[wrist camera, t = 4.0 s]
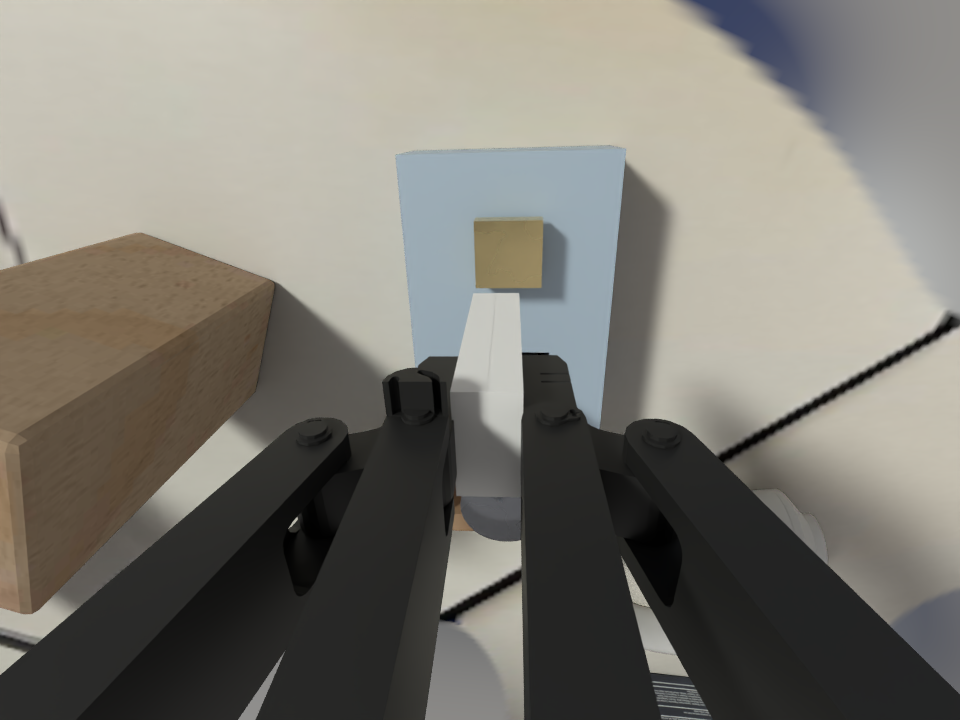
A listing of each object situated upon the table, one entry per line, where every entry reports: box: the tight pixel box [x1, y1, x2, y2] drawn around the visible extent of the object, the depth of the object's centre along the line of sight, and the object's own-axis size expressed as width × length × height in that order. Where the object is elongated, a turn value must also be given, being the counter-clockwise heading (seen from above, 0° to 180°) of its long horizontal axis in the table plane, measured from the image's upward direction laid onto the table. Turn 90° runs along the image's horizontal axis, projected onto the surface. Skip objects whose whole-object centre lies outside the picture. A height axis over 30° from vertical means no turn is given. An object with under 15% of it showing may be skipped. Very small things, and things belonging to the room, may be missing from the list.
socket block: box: [395, 145, 626, 429], centre depth 31 cm, size 12×18×5 cm, turn 2°
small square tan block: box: [474, 216, 543, 288], centre depth 28 cm, size 4×4×6 cm
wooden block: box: [0, 233, 275, 614], centre depth 27 cm, size 10×10×20 cm
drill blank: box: [460, 352, 537, 541], centre depth 29 cm, size 4×4×16 cm
